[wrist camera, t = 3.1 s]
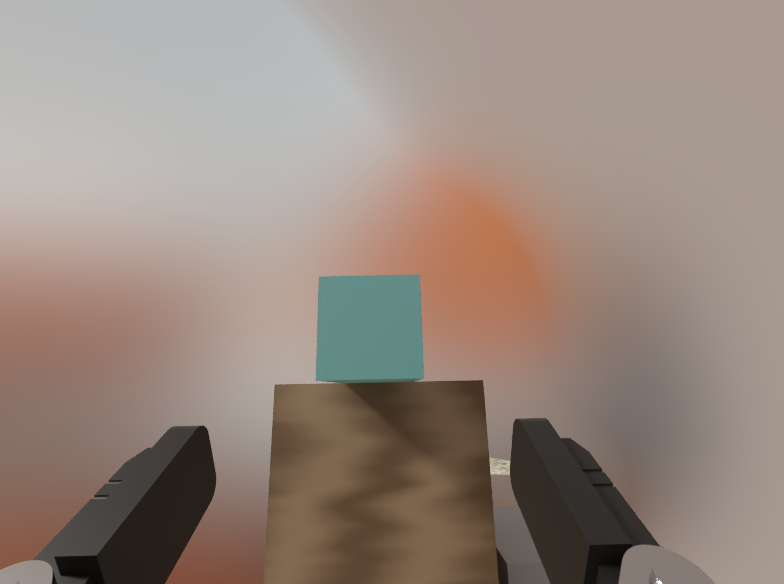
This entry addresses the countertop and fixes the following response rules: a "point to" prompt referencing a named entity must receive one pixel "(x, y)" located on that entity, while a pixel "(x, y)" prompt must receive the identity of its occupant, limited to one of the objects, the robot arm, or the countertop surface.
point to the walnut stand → (380, 485)
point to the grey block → (516, 550)
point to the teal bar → (369, 329)
